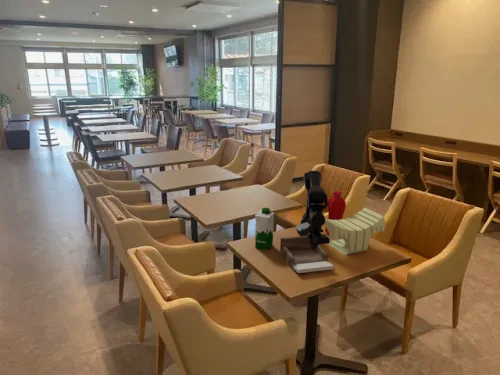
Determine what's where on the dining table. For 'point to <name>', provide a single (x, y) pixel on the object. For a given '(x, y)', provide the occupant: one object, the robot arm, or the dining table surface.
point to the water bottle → (335, 207)
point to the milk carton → (264, 229)
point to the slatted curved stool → (354, 231)
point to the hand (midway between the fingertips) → (313, 250)
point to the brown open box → (301, 251)
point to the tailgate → (313, 267)
